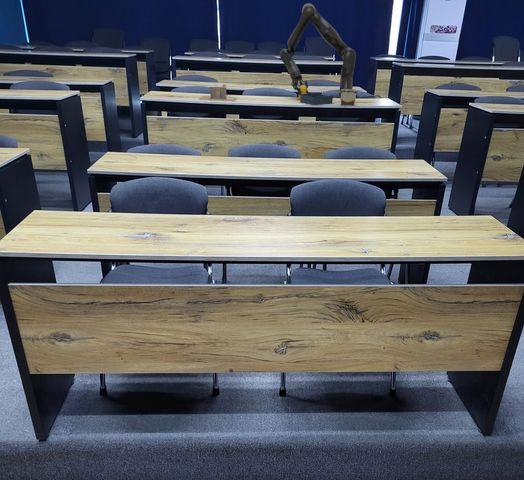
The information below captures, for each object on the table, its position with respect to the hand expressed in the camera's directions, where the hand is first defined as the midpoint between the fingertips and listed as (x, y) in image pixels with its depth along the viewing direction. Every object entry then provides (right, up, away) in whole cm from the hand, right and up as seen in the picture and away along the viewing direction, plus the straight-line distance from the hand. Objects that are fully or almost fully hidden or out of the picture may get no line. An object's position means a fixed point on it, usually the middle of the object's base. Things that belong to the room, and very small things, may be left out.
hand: (304, 93), depth 387 cm
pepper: (-1, -3, +3) cm, 5 cm away
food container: (+30, -14, -12) cm, 36 cm away
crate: (+8, -10, -7) cm, 15 cm away
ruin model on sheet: (-64, -6, -3) cm, 64 cm away
